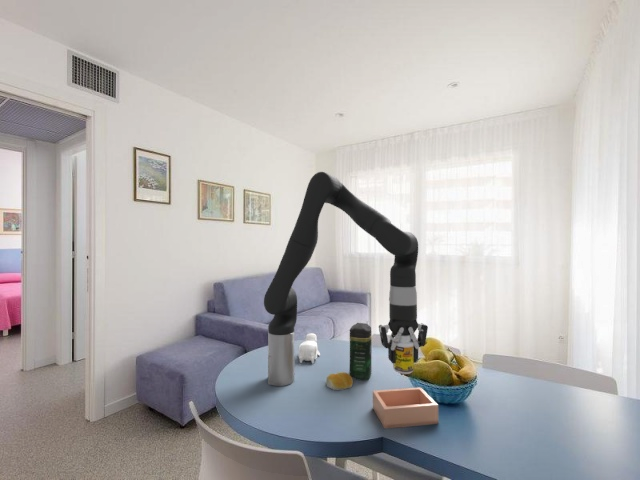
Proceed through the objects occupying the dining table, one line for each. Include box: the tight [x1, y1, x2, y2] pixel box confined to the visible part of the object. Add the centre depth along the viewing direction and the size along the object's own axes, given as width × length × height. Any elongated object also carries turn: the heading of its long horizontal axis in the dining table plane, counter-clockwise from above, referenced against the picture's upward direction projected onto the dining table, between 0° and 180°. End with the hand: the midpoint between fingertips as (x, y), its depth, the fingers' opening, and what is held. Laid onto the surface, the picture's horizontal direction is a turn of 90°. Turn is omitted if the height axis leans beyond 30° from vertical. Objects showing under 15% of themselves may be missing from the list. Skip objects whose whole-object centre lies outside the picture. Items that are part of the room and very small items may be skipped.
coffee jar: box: [349, 322, 373, 381], centre depth 111 cm, size 10×8×19 cm
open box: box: [372, 387, 439, 429], centre depth 84 cm, size 15×10×5 cm, turn 98°
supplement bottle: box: [392, 335, 415, 375], centre depth 85 cm, size 6×6×10 cm
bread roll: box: [325, 371, 354, 391], centre depth 103 cm, size 8×9×4 cm
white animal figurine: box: [297, 333, 321, 364], centre depth 129 cm, size 9×8×15 cm
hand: (403, 361), depth 85 cm, fingers closed on supplement bottle, 5 cm apart
